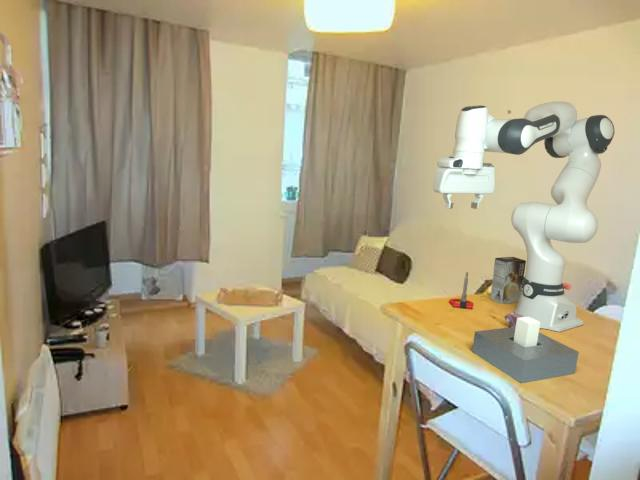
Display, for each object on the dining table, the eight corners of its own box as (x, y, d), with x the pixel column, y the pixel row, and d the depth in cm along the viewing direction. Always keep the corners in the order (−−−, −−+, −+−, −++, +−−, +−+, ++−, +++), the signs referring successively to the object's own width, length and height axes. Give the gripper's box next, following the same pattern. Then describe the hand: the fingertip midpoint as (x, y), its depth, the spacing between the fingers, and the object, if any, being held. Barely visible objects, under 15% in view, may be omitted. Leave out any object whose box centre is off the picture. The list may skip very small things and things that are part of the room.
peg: (522, 358, 131) (528, 316, 129) (533, 364, 128) (540, 322, 125) (510, 359, 130) (517, 317, 127) (521, 366, 126) (528, 323, 124)
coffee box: (507, 296, 185) (513, 256, 182) (520, 302, 179) (527, 260, 176) (489, 298, 181) (495, 257, 178) (501, 304, 176) (507, 261, 172)
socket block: (522, 344, 140) (525, 325, 139) (574, 373, 124) (578, 351, 123) (472, 351, 133) (474, 331, 132) (521, 383, 117) (524, 360, 116)
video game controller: (505, 330, 155) (500, 313, 152) (515, 323, 156) (511, 305, 153) (529, 342, 146) (525, 324, 143) (540, 335, 147) (536, 316, 145)
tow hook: (447, 300, 178) (450, 307, 169) (451, 266, 176) (454, 271, 167) (471, 303, 177) (475, 310, 168) (475, 268, 175) (479, 274, 166)
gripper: (488, 162, 149) (482, 206, 152) (432, 160, 141) (427, 206, 144) (502, 164, 143) (496, 210, 146) (445, 161, 135) (440, 210, 138)
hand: (461, 208), depth 145 cm, fingers open, 8 cm apart
